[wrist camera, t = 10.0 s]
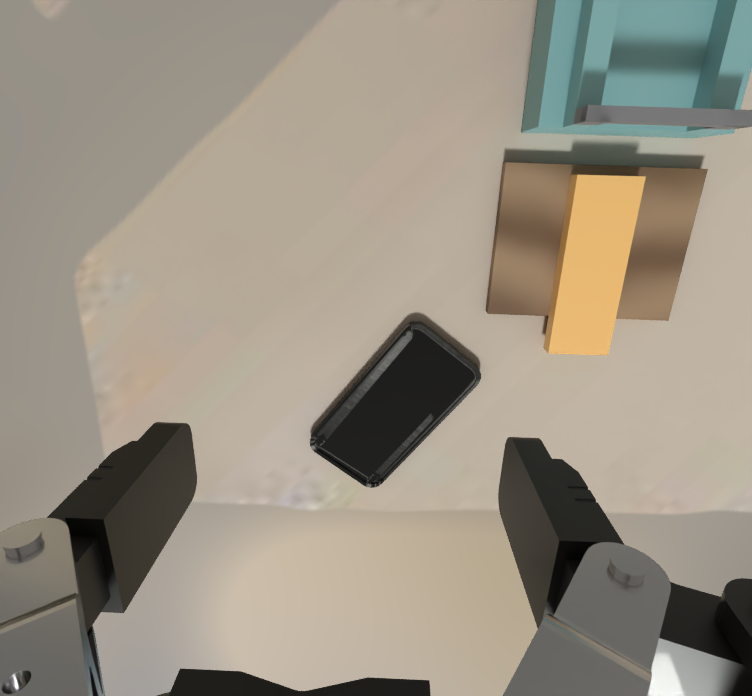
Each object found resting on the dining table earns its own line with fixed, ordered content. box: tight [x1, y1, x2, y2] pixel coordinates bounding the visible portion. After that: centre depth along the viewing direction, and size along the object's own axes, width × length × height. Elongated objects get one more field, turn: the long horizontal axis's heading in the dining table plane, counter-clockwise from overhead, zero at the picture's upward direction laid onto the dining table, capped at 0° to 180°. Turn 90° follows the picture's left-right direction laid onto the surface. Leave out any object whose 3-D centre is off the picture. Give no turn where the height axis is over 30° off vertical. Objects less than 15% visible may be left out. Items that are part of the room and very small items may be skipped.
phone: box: [310, 321, 481, 488], centre depth 40 cm, size 8×1×15 cm
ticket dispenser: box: [521, 0, 752, 138], centre depth 27 cm, size 10×12×8 cm
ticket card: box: [544, 175, 646, 355], centre depth 34 cm, size 13×5×1 cm, turn 179°
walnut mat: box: [486, 162, 708, 321], centre depth 35 cm, size 11×14×1 cm
